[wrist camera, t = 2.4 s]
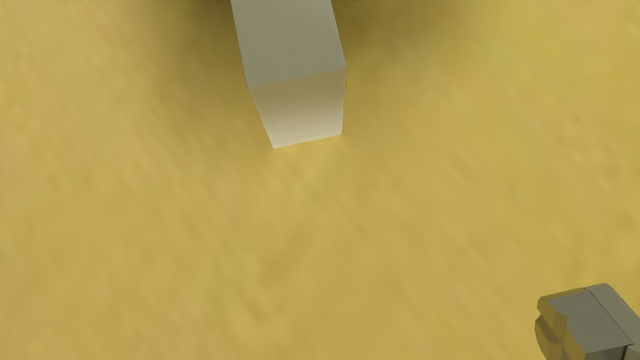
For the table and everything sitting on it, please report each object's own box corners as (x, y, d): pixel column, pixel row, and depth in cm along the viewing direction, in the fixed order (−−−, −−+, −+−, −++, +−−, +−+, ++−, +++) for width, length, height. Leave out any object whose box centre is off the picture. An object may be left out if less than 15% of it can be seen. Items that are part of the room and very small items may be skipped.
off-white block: (273, 148, 31) (247, 88, 21) (260, 84, 32) (230, -2, 22) (341, 134, 31) (346, 67, 21) (326, 71, 32) (325, -21, 22)
